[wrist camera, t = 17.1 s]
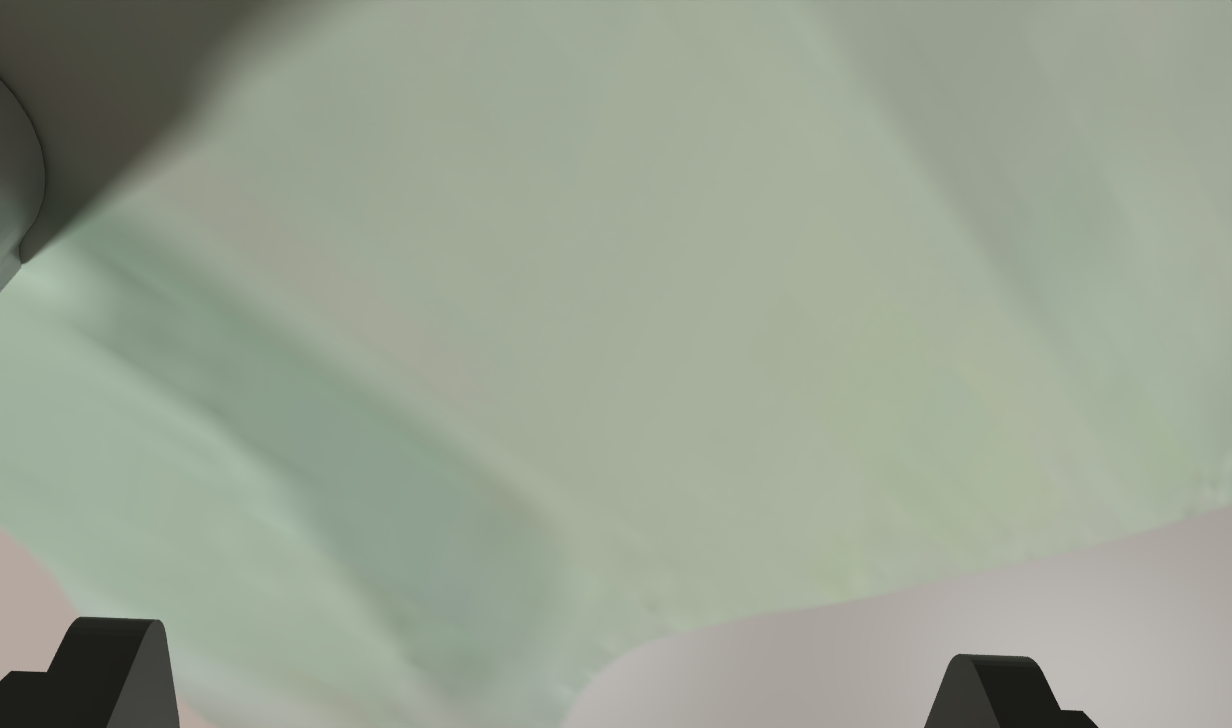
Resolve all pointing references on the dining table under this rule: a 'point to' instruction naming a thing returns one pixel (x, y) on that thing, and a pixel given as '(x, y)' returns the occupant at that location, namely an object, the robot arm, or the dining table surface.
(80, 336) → the dining table surface
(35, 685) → the robot arm
